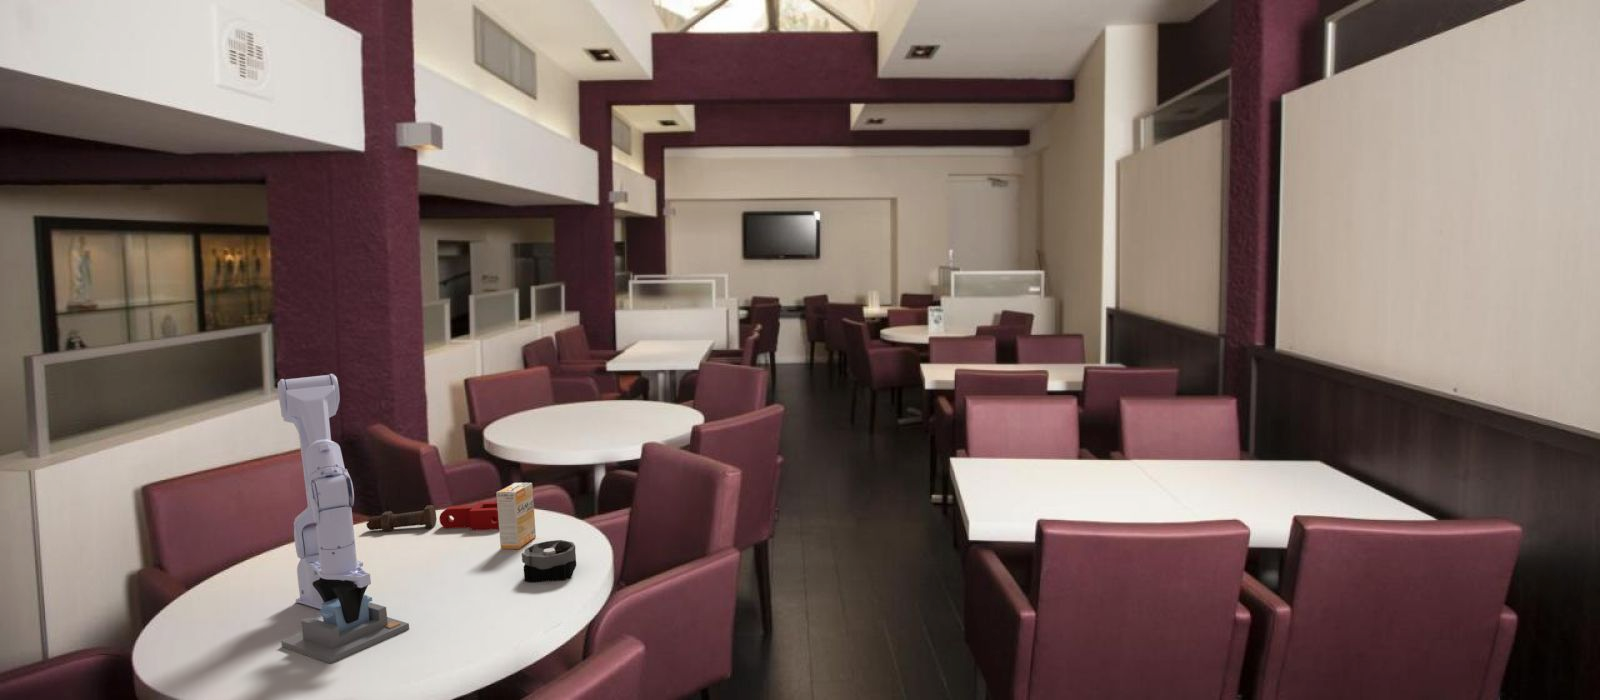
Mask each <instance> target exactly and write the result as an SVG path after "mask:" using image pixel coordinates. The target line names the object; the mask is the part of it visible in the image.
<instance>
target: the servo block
mask: <svg viewBox="0 0 1600 700" xmlns="http://www.w3.org/2000/svg"><path fill="white" fill-rule="evenodd" d="M368 602H370V603H371V602H373V597H371V596H368V595H367V594H364V596H363V599H362V603H361V608H360V614H359V619H358V620H356V621H354V622H352V623H349V624H347V623H346V622H345V619H344V616H343V613H342V608H341V605H340V602H339V599H338V598H335V599H332V600H330V601H327V602H325V603H322V610H321V609H319V610H318V611H317V612H316V615H317V616H319V617H322V621H323V622H326V623H329V624H333V625H336V626H339V633H341V632H344V631H346V630H349V629H351V628H353V627H356V626H358V625H361V624H363V623H365V622H368V621H370V619H369V609H368Z"/></svg>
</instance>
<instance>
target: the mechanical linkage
mask: <svg viewBox="0 0 1600 700" xmlns="http://www.w3.org/2000/svg"><path fill="white" fill-rule="evenodd" d="M451 517H452V518H453V519H452V518H451ZM439 523H440V525H441V526H442V528H444V529H465V528H470V531H487V530H488V531H489V530H499V520H498V507H497V500H496V501H479V502H477V503H475V504H473V505H470V504H469V505H452V506H448V507H447V508H445V509H444V510H443V511H442V512H441V513H440V515H439Z"/></svg>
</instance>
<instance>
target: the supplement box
mask: <svg viewBox="0 0 1600 700" xmlns="http://www.w3.org/2000/svg"><path fill="white" fill-rule="evenodd" d="M533 491H534V489H533V483H532V482H513V483H511V484H510V485H508V486H505V487H503V488H502V489H500V490H498V491H496V492H495V493H496V501H497V507H498V520H499V529H498V531H499V532H498V533H499V543H500V544H499V545H500V549H506V550H508V549H509V550H513V549H514V550H519V549H521V548H522V547H523V546H525V545H526V544H528V543H529V542H530V541H532V540H533V539H535V538H537V537H536V536H537V534H536V533H537V532H536V520H535V506H534V492H533Z"/></svg>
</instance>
